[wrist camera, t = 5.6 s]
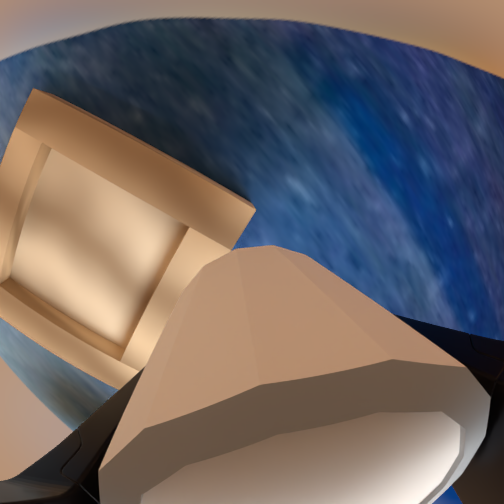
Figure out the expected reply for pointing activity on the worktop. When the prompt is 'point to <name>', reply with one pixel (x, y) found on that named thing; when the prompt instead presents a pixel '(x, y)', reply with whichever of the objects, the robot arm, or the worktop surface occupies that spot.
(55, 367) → the worktop surface
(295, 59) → the worktop surface
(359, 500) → the white tapered cup
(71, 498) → the robot arm
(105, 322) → the holder tray
